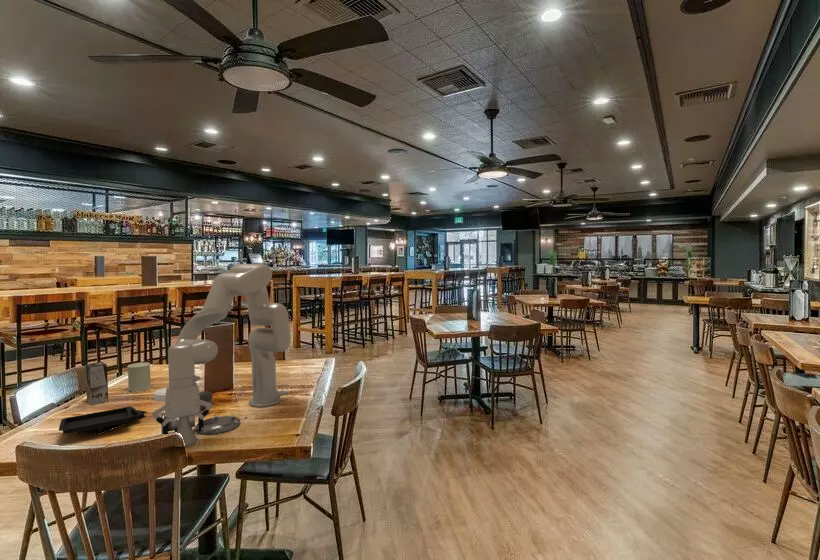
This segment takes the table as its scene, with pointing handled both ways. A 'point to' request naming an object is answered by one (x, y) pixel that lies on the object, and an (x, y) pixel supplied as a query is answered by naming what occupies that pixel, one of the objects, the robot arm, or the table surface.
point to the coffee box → (96, 382)
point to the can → (139, 377)
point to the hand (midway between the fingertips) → (183, 433)
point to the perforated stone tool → (205, 397)
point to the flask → (186, 431)
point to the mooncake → (160, 394)
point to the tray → (100, 421)
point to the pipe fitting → (207, 424)
